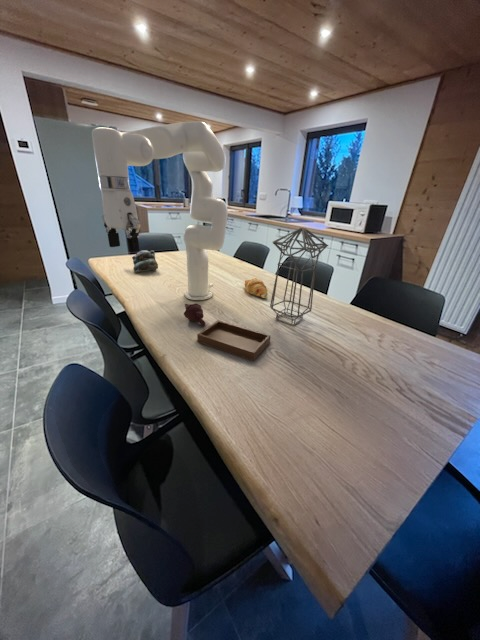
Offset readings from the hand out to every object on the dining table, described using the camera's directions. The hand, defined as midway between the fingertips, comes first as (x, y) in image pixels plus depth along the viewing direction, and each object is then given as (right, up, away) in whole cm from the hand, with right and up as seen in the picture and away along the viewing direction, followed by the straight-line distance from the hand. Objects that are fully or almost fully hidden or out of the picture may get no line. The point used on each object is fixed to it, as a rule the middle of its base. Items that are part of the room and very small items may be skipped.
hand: (124, 249), depth 79 cm
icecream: (+17, -21, +22) cm, 35 cm away
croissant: (+42, -8, +54) cm, 69 cm away
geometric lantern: (+55, -21, +27) cm, 65 cm away
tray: (+32, -29, +9) cm, 44 cm away
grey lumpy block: (-22, +8, +78) cm, 82 cm away
